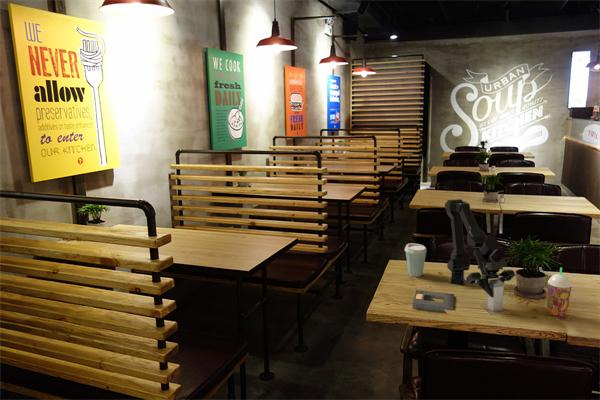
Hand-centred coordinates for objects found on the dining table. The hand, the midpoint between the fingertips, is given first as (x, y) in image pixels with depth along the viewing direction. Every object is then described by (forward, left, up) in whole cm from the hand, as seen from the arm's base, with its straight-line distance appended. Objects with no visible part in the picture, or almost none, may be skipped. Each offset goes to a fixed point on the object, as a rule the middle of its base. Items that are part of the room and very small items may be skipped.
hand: (497, 296), depth 188 cm
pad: (-1, -1, -8) cm, 8 cm away
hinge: (-44, +19, -8) cm, 48 cm away
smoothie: (-5, +22, -8) cm, 24 cm away
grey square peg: (-1, -1, -6) cm, 6 cm away
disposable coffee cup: (-35, -36, -8) cm, 51 cm away
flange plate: (-3, -25, -8) cm, 26 cm away
